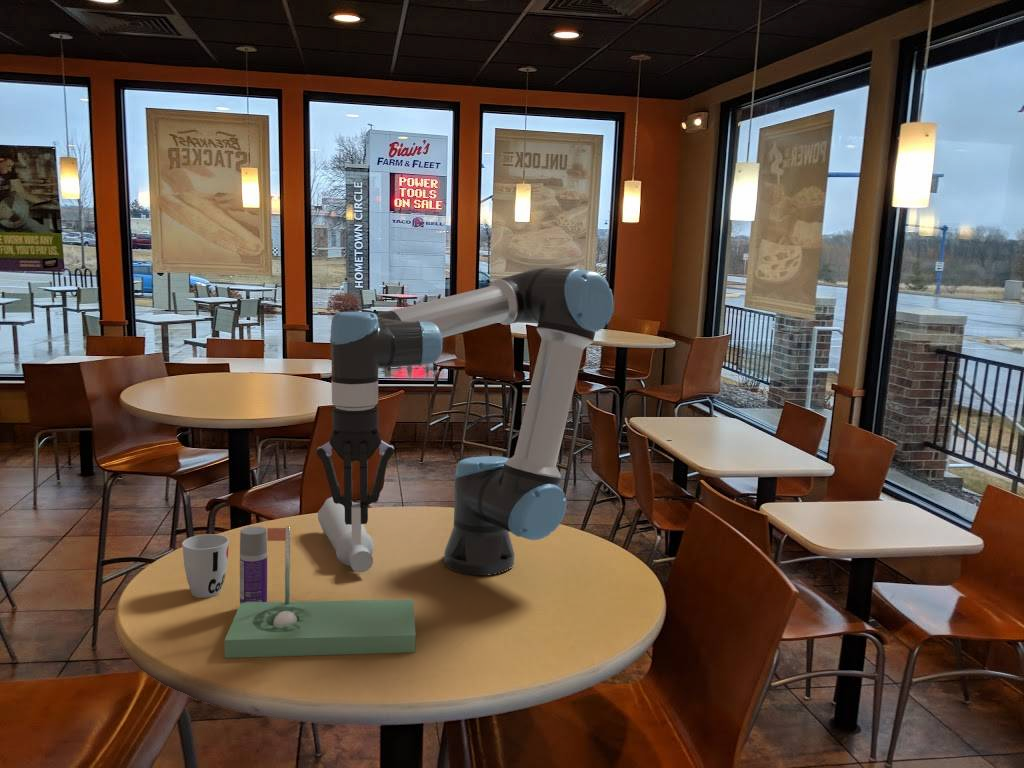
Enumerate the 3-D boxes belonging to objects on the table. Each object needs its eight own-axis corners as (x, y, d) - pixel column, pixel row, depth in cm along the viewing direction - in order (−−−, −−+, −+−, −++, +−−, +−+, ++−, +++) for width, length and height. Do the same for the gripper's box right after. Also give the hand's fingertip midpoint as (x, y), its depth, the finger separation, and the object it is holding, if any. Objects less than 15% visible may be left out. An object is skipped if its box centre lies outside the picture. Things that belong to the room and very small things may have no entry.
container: (272, 607, 144) (272, 528, 142) (256, 617, 140) (256, 536, 137) (250, 602, 146) (250, 524, 143) (234, 612, 141) (233, 532, 139)
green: (412, 614, 144) (413, 599, 143) (415, 652, 130) (415, 635, 130) (240, 618, 139) (240, 602, 139) (224, 657, 125) (224, 640, 125)
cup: (213, 603, 144) (213, 551, 143) (173, 597, 146) (173, 546, 145) (237, 586, 152) (237, 536, 151) (199, 581, 154) (198, 532, 152)
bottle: (308, 518, 184) (329, 570, 156) (331, 486, 184) (356, 532, 157) (341, 536, 187) (367, 590, 160) (363, 504, 188) (393, 553, 161)
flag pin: (289, 602, 140) (290, 526, 137) (289, 604, 139) (289, 527, 137) (267, 602, 139) (267, 526, 137) (266, 604, 138) (267, 528, 136)
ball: (298, 615, 137) (274, 613, 136) (300, 609, 134) (276, 607, 133) (294, 639, 135) (270, 636, 134) (296, 633, 132) (272, 631, 131)
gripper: (394, 401, 135) (395, 532, 139) (316, 401, 133) (319, 535, 137) (395, 410, 128) (395, 548, 132) (312, 410, 126) (315, 551, 130)
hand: (356, 541), depth 135 cm, fingers closed
